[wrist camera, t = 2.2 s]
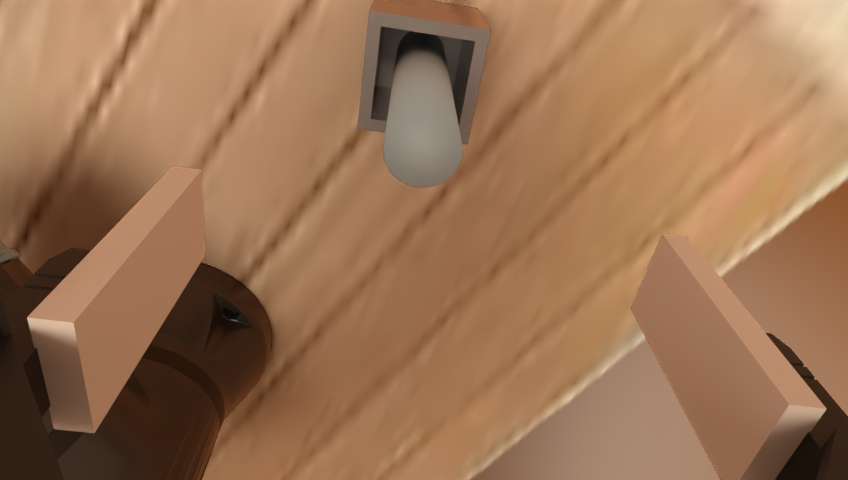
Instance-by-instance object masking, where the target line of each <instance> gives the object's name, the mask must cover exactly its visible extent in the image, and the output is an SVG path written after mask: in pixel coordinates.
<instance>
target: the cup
mask: <svg viewBox="0 0 848 480" xmlns="http://www.w3.org/2000/svg"><path fill="white" fill-rule="evenodd" d="M410 31H414V32H420V33H426V34H433V35H437V36H438V37H439V38H440V40H441V42H442V44H443V47H444V51H445V57H446V62H447V67H448V72H449V77H450V83H451V88H452V93H453V98H454V104H455V109H456V114H457V119H458V125H459V130H460V135H461V140H462V144H468V139H469V135H470V130H471V125H472V120H473V115H474V110H475V105H476V100H477V95H478V90H479V85H480V80H481V75H482V70H483V65H484V61H485V56H486V51H487V46H488V41H489V36H490V31H491V30H490V28H489V27H488V25H487V23H486V22H485V20H484V18H483V17H482V15H481V13H480V12H479V10H478V8H473V7H467V6H461V5H455V4H449V3H443V2H437V1H431V0H374V2H373V4H372V6H371V8H370V10H369V19H368V29H367V39H366V49H365V59H364V69H363V78H362V88H361V98H360V108H359V118H358V128H357V129H364V130H371V131H378V132H385V130H386V124H387V117H388V110H389V103H390V96H391V89H392V82H393V75H394V68H395V62H396V55H397V48H398V45H399V42H400V40H401V39H402V38H403V36H404V35H406V34H407V33H408V32H410Z"/></svg>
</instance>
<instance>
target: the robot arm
mask: <svg viewBox="0 0 848 480" xmlns="http://www.w3.org/2000/svg"><path fill="white" fill-rule="evenodd" d="M18 256H19V254H18V252H17V251H16V250H15V249H10V248H8V247H7V246H6V245H5V244H4V243H2V242H1V241H0V480H202V478H203V476H204V473H205V470H206V467H207V464H208V462H209V459H210V456H211V453H212V450H213V448H214V445H215V442H216V439H217V436H218V433H219V431H220V428H221V425H222V423H223V421H224V419H225V418H226V417H227V416H228V415H229V414H230V413H231V412H232V410H233V409H234V408H235V407H236V406H237V405H238V404H239V403H240V402H241V401H242V400H243V398H244V397H245V396H246V395H247V394H248V393H249V392H250V391H251V390H252V388H253V387H254V386H255V385H256V384H257V382H258V381H259V379H260V378H261V376H262V374H263V372H264V369H265V366H266V364H267V361H268V358H269V355H270V351H271V346H272V332H271V327H270V323H269V320H268V318H267V315H266V313H265V311H264V310H263V308H262V306H261V305H260V303H259V302H258V301H257V299H256V298H255V297H254V296H253V295H252V294H251V293H250V292H249V291H248V290H247V289H246V288H245V287H244V286H243V285H241V284H240V283H239V282H237V281H236V280H235V279H233V278H232V277H230V276H228V275H226V274H225V273H223V272H221V271H219V270H217V269H214V268H212V267H209V266H206V265H203V264H200V263H201V261H202V260H203V258H204V256H205V239H204V216H203V192H202V170H199V169H191V168H184V167H177V166H172V167H171V168H170V169H169V170H168V171H167V172H166V173H165V175H164V176H163V177H162V178H161V179H160V180H159V181H158V182H157V183H156V184H155V185H154V186H153V187H152V188H151V189H150V190H149V191H148V192H147V193H146V194H145V195H144V196H143V197H142V198H141V199H140V200H139V202H138V203H137V204H136V205H135V206H134V207H133V208H132V209H131V210H130V211H129V212H128V213H127V214H126V215H125V216H124V217H123V218H122V219H121V220H120V221H119V222H118V223H117V224H116V225H115V226H114V227H113V229H112V230H111V231H110V232H109V233H108V234H107V235H106V236H105V237H104V238H103V239H102V240H101V241H100V242H99V243H98V244H97V245H96V246H95V247H94V248H93V249H92V250H84V249H76V248H71V249H69V250H67V251H65V252H63V253H61V254H59V255H57V256H55V257H53V258H51V259H49V260H48V261H47V262H46V263H45V264H44V265H43V266H42V267H41V268H40V269H39V270H38V271H36V272H35V276H34V275H33V274H32V273H31V271H30V270H29V269H28V268H27V267H26V266H25V265H24V264H23V263H22V262H21V261H20V260H19V258H18ZM631 310H632V312H633V314H634V316H635V318H636V320H637V322H638V324H639V326H640V328H641V330H642V331H643V333H644V335H645V337H646V339H647V341H648V343H649V345H650V347H651V348H652V351H653V352H654V354H655V356H656V358H657V360H658V362H659V364H660V366H661V368H662V370H663V372H664V373H665V375H666V377H667V379H668V381H669V383H670V385H671V387H672V388H673V391H674V392H675V394H676V396H677V398H678V400H679V402H680V404H681V406H682V408H683V409H684V412H685V414H686V415H687V417H688V419H689V421H690V423H691V425H692V427H693V429H694V431H695V433H696V435H697V436H698V438H699V440H700V442H701V444H702V446H703V448H704V450H705V452H706V453H707V455H708V457H709V459H710V461H711V463H712V465H713V467H714V469H715V471H716V473H717V475H718V476H719V479H720V480H848V416H847V415H846V414H845V413H844V412H843V411H842V409H841V408H840V407H839V406H838V404H837V403H836V402H835V401H834V400H833V399H832V397H831V396H830V395H829V394H828V392H827V391H826V390H825V389H824V388H823V387H822V385H821V384H820V383H819V382H818V381H817V380H814V376H813V375H812V373H811V372H810V371H809V370H808V369H807V367H803V365H804V364H803V363H802V361H801V360H800V359H799V358H798V357H797V356H796V355H795V353H794V352H793V351H792V350H791V348H789V347H788V346H787V345H785V344H784V343H783V342H781V341H780V340H779V339H777V338H776V337H775V336H774V335H772V334H769V333H765V332H764V331H763V330H762V328H761V327H760V326H759V325H758V323H757V322H756V321H755V320H754V319H753V317H752V316H751V315H750V314H749V312H748V311H747V310H746V309H745V307H744V306H743V305H742V304H741V303H740V301H739V300H738V299H737V298H736V296H735V295H734V294H733V293H732V292H731V290H730V289H729V288H728V286H727V285H726V284H725V283H724V282H723V280H722V279H721V278H720V277H719V275H718V274H717V273H716V272H715V270H714V269H713V268H712V267H711V265H710V264H709V263H708V262H707V261H706V259H705V258H704V257H703V256H702V254H701V253H700V252H699V251H698V249H697V248H696V247H695V246H694V244H693V243H692V242H691V241H690V240H689V238H688V237H686V236H678V235H671V234H664V233H662V235H661V237H660V240H659V242H658V244H657V247H656V249H655V252H654V254H653V256H652V259H651V261H650V264H649V266H648V268H647V271H646V273H645V276H644V278H643V280H642V283H641V285H640V288H639V290H638V292H637V295H636V297H635V300H634V302H633V304H632V307H631Z"/></svg>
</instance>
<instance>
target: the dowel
mask: <svg viewBox="0 0 848 480" xmlns="http://www.w3.org/2000/svg"><path fill="white" fill-rule="evenodd" d="M462 153H463V147H462V140H461V135H460V130H459V125H458V119H457V114H456V109H455V104H454V98H453V93H452V88H451V83H450V77H449V72H448V67H447V62H446V57H445V51H444V47H443V44H442V42H441V40H440V38H439V37H438V36H437V35H433V34H426V33H420V32H414V31H410V32H408V33H407V34H406V35H404V36H403V38H402V39H401V40H400V42H399V45H398V48H397V55H396V62H395V68H394V75H393V82H392V89H391V96H390V103H389V110H388V117H387V124H386V130H385V137H384V144H383V155H384V160H385V163H386V165H387V167H388V169H389V170H390V172H391V173H392V174H393V175H394V176H395V177H396V178H397V179H398V180H400V181H401V182H403V183H405V184H407V185H410V186H414V187H431V186H435V185H438V184H440V183H442V182H444V181H446V180H447V179H448V178H450V177H451V176H452V175H453V174H454V172H455V171H456V170H457V168H458V166H459V164H460V162H461V158H462Z"/></svg>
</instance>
